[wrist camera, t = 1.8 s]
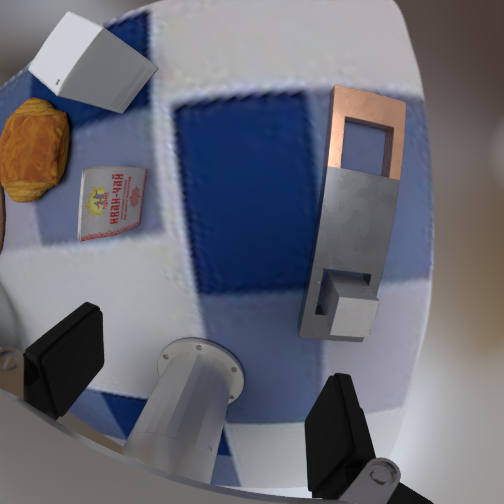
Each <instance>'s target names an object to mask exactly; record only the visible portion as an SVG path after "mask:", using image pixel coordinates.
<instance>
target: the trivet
mask: <svg viewBox="0 0 504 504" xmlns="http://www.w3.org/2000/svg"><path fill="white" fill-rule="evenodd" d="M5 221H6V210H5V194H4V188H3V187H2V184H1V182H0V253H1V251H2V248H3V242H4V236H5Z"/></svg>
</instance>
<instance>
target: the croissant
mask: <svg viewBox="0 0 504 504" xmlns="http://www.w3.org/2000/svg"><path fill="white" fill-rule="evenodd" d="M68 145H69V125H68V120H67V115H66V112H64V113H62V111H59V110H57V109H54V107H53V106H52V105H51V104H50V103H49V102H48V101H46V100H42V99H38V98H29V99H28V100H27V101H25V103H24V104H22V105H21V106H20V107H19V108H18V109H17V110H16V111H15V112H14V113H13V114H12V115H11V116H10V117H9V118H8V119H7V121H6V124H5V127H4V130H3V132H2V135H1V139H0V182H1V184H2V187H3V188H4V189H5V190H6V191H7V192H8V194H9V197H11V199H12V200H14V201H15V202H22V203H25V202H32V201H33V200H38V199H39V198H40V197H41V195H42V194H43V193H44V192H45V191H46V189H49V188H51V187H52V186H54V185H56V186H57V185H58V183H59V181H60V178H61V177H62V175H63V172H64V169H65V165H66V162H67V153H68Z"/></svg>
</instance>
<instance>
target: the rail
mask: <svg viewBox="0 0 504 504" xmlns="http://www.w3.org/2000/svg"><path fill="white" fill-rule="evenodd" d="M405 110H406V103H405V102H402V101H399V100H395V99H392V98H388V97H385V96H381V95H377V94H374V93H370V92H366V91H361V90H357V89H353V88H348V87H343V86H338V85H335V86H334V87H333V89H332V90H331V96H330V109H329V120H328V131H327V141H326V150H325V159H324V168H323V176H322V184H321V192H320V199H319V207H318V214H317V220H316V227H315V234H314V240H313V246H312V252H311V258H310V264H309V270H308V275H307V281H306V286H305V292H304V297H303V302H302V307H301V312H300V317H299V322H298V335H299V337H300V338H311V339H322V340H335V341H350V342H363V339H364V337H352V336H338V335H330V333H329V330H328V326H327V323H326V319H325V316H324V313H323V309H322V306H321V305H317V302H318V297H319V292H320V287H321V282H322V277H323V272H324V268H325V269H334V270H342V271H350V272H358V273H364V276H363V279H364V280H365V282H366V283H367V284H368V286H369V287H370V288H371V290H372V291H373V293H374V294H375V295H376V296H377V292H378V288H379V284H380V280H381V276H382V272H383V268H384V264H385V260H386V255H387V251H388V246H389V241H390V236H391V231H392V226H393V220H394V215H395V209H396V202H397V196H398V189H399V181H400V173H401V165H402V155H403V144H404V130H405ZM345 121H347V122H352V123H356V124H361V125H366V126H370V127H374V128H378V129H382V130H386V136H385V148H384V158H383V167H382V175H381V176H378V175H373V174H369V173H364V172H359V171H353V170H348V169H342V168H340V162H341V153H342V143H343V133H344V122H345Z"/></svg>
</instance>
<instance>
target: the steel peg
mask: <svg viewBox="0 0 504 504" xmlns="http://www.w3.org/2000/svg"><path fill="white" fill-rule="evenodd" d="M320 302H321V306H322V309H323V313H324V316H325V319H326V323H327V326H328V330H329V333H330V335H338V336H352V337H369V334H370V331H371V327H372V324H373V321H374V318H375V315H376V311H377V308H378V304H379V299H378V298H377V297H376V295H375V294H374V293H373V291H372V290H371V288H370V287H369V286H368V284H367V283H366V282H365V280H364V279H363V278H362V276H361V275H360V274H359V273H358V272H350V271H342V270H334V269H326V271H325V276H324V281H323V286H322V291H321V295H320Z"/></svg>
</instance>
